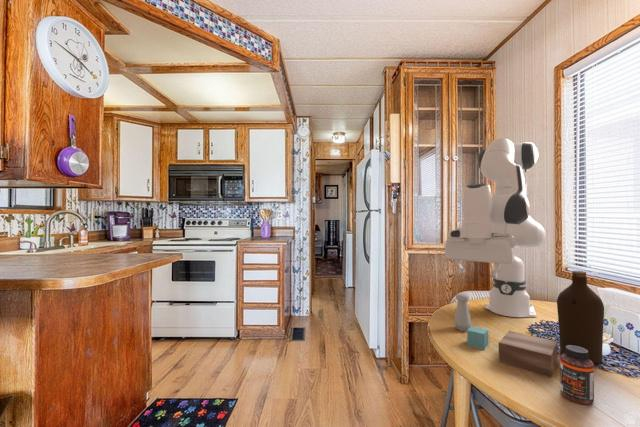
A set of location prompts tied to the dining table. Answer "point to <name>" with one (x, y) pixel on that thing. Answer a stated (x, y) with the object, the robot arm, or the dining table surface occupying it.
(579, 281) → the olive oil
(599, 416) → the dining table surface
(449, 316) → the dining table surface
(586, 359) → the supplement bottle
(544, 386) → the dining table surface
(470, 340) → the teal cube
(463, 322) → the salt shaker
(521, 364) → the walnut block
